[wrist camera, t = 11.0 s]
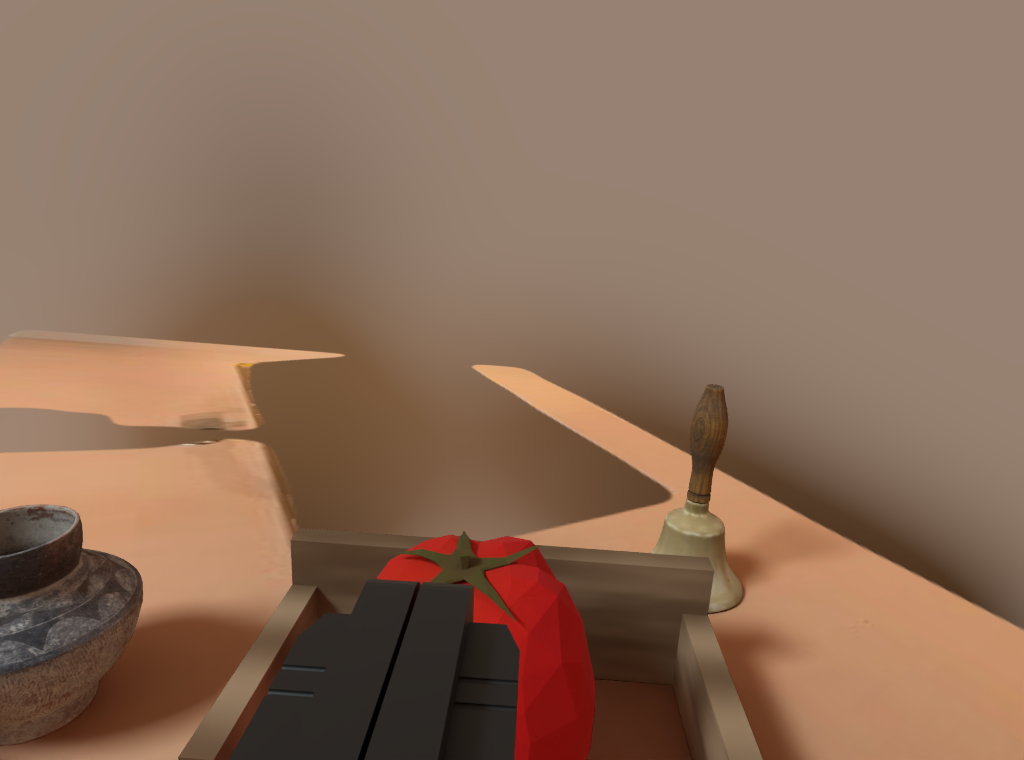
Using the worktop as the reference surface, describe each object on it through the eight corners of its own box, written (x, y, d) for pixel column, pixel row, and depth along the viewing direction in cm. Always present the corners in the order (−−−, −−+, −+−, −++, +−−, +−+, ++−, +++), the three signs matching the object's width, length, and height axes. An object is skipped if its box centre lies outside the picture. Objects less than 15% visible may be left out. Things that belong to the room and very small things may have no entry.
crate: (763, 902, 28) (793, 748, 26) (187, 849, 29) (172, 697, 27) (692, 670, 42) (708, 557, 40) (303, 639, 43) (299, 528, 41)
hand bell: (640, 547, 57) (661, 367, 53) (742, 567, 55) (771, 380, 51) (625, 599, 50) (648, 393, 45) (742, 625, 47) (778, 411, 43)
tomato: (639, 786, 34) (669, 550, 30) (471, 1012, 24) (485, 704, 21) (455, 671, 41) (462, 471, 38) (271, 807, 32) (257, 555, 28)
